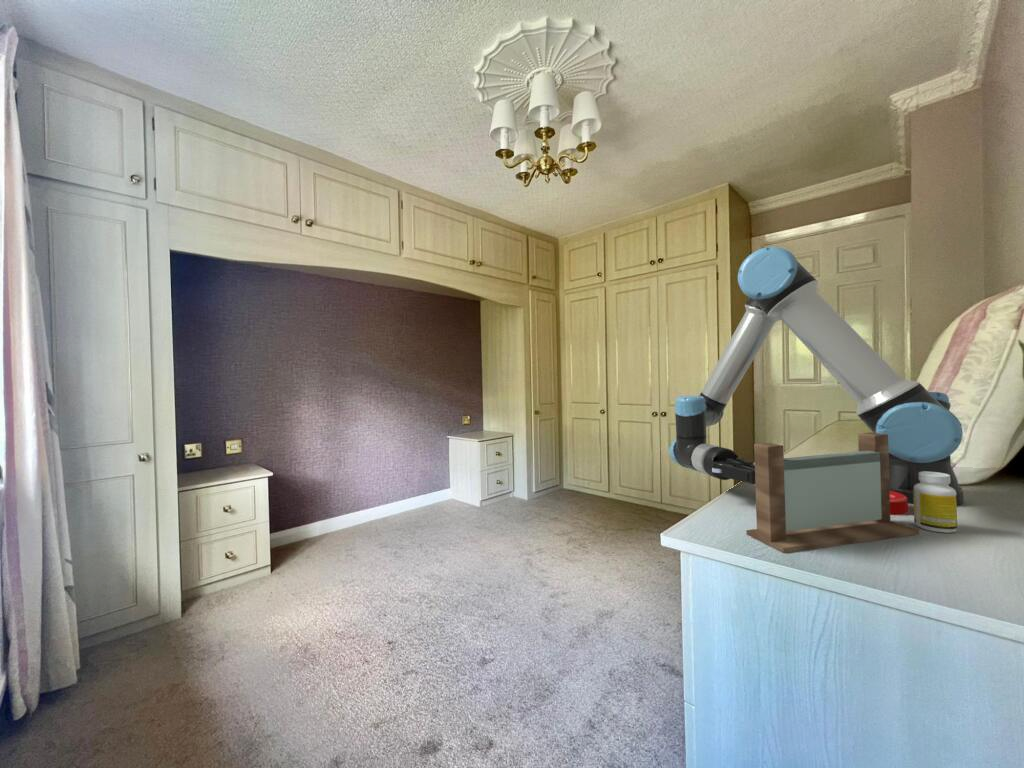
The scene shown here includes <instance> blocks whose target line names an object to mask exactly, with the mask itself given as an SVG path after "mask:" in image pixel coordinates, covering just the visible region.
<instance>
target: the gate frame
mask: <svg viewBox="0 0 1024 768" xmlns="http://www.w3.org/2000/svg"><path fill="white" fill-rule="evenodd" d="M857 438H858V439H857V442H858V446H857V447H858V452H860V451H873V452H879V453H880V477H881V514H882V519H880V520H872V521H865V522H857V523H849V524H841V525H833V526H825V527H817V528H810V529H802V530H794V531H786V517H785V484H784V458H785V456H784V445H782V444H776V443H772V442H764V443H763V442H762V443H754V444H753V448H754V449H753V450H754V453H753V454H754V464H755V484H754V485H755V510H756V513H755V515H756V528H755V529H754V528H752V529H747V530H745V532H746V536H748V535H749V536H748V537H750V536H751V538H752V537H753V538H752V539H754V540H757V541H759V542H761V543H763V544H765V545H767V546H769V547H771V548H773V549H775V550H777V551H779V552H780V553H790V552H799V551H806V550H813V549H814V550H815V549H821V548H827V547H835V546H843V545H850V544H856V543H863V542H873V541H879V540H885V539H886V540H887V539H893V538H900V537H906V536H907V537H908V536H914V535H919V534H920V533H919V529H917V528H915V527H912V526H908V525H906V524H905V525H904V524H902V523H898V522H896V521H892V520H891V515H890V485H889V448H888V434H880V433H873V432H872V431H871V432H861V433H860V432H859V433H858V435H857Z"/></svg>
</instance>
